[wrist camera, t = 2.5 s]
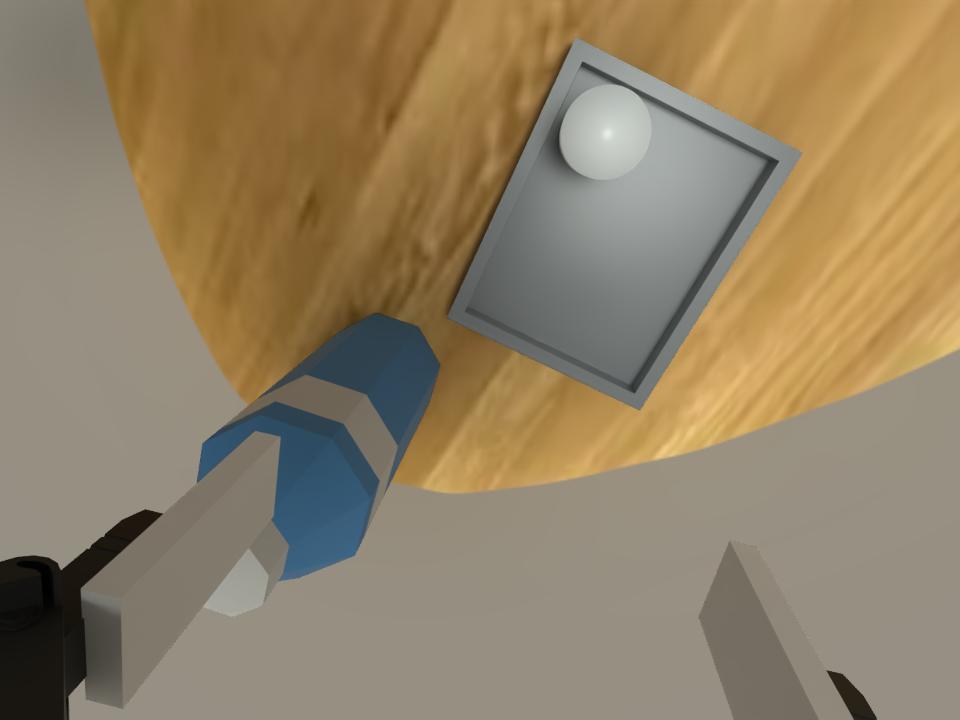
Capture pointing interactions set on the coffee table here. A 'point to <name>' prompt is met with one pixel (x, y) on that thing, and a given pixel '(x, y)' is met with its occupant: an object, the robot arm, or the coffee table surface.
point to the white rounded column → (605, 132)
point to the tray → (619, 235)
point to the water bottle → (327, 451)
